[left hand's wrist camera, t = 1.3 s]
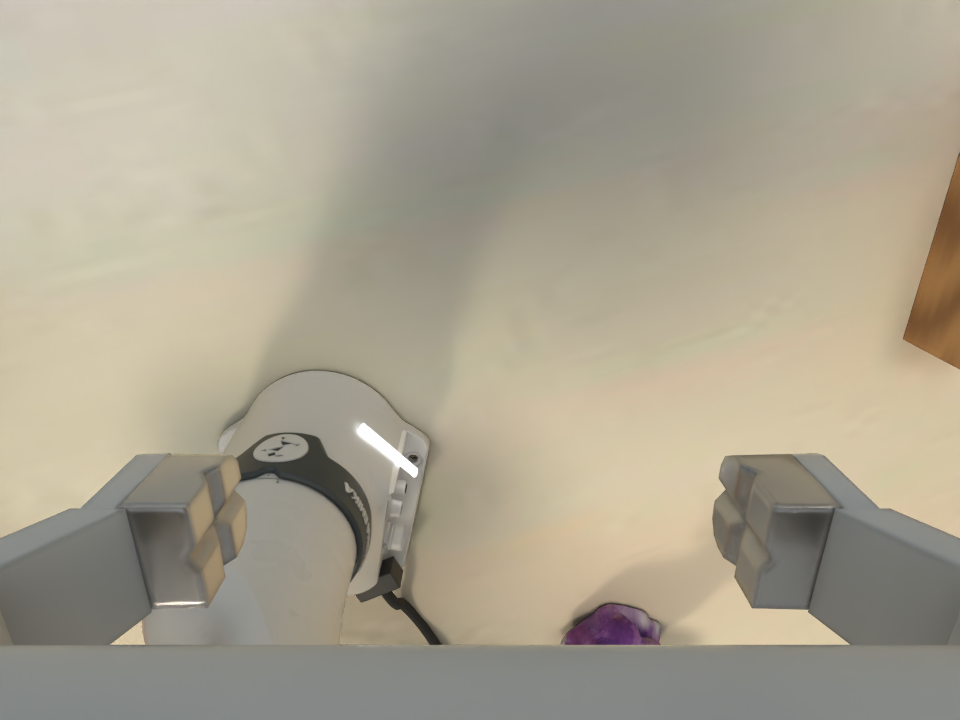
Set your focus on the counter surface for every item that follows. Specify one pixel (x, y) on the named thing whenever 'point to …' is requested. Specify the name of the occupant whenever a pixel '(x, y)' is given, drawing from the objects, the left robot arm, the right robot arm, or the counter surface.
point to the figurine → (615, 628)
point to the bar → (941, 286)
